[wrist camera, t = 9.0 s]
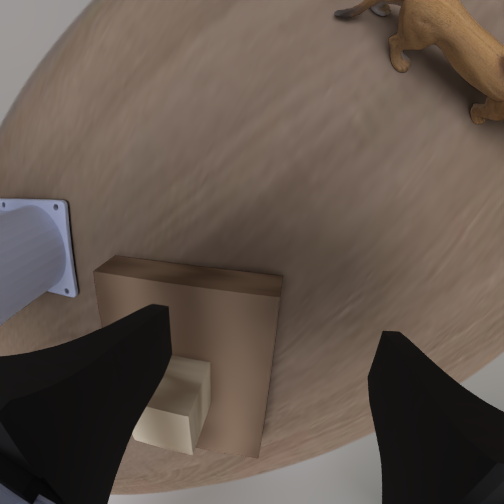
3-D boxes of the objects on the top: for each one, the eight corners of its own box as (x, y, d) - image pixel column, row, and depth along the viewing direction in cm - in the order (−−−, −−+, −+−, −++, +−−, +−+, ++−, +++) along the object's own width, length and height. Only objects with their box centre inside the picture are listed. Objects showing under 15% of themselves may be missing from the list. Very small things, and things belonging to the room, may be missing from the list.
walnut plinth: (139, 408, 27) (128, 429, 25) (115, 255, 22) (93, 271, 19) (262, 433, 26) (258, 458, 23) (282, 275, 21) (279, 297, 18)
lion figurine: (528, 90, 14) (614, 84, 5) (514, 154, 16) (604, 173, 7) (343, -13, 14) (366, -96, 6) (320, 54, 16) (337, -12, 7)
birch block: (159, 392, 22) (134, 439, 17) (153, 351, 21) (122, 399, 16) (210, 403, 22) (192, 455, 17) (210, 362, 20) (188, 416, 16)
